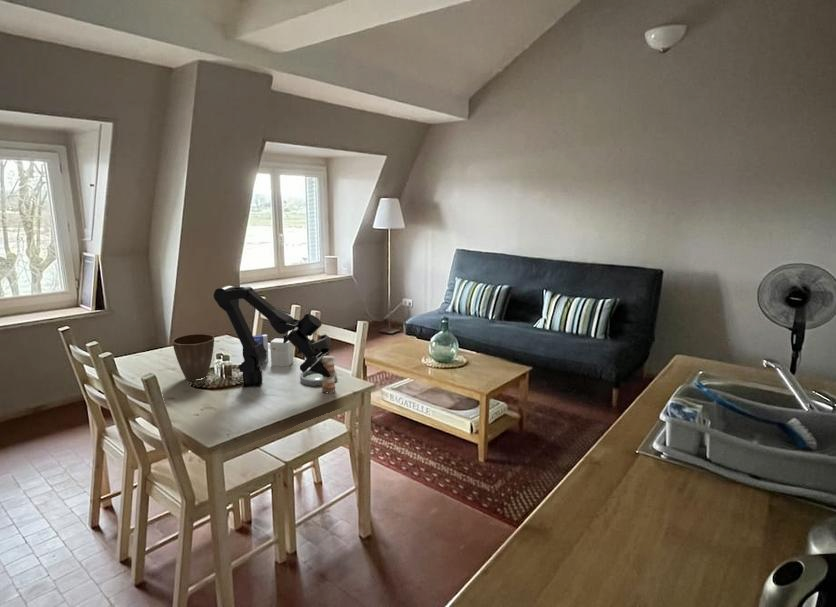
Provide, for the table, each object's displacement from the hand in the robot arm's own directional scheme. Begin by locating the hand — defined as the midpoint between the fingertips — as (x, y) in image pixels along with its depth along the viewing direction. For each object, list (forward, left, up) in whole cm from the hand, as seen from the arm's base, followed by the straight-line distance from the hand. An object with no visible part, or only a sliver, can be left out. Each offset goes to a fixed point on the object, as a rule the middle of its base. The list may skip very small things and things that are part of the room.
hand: (331, 374), depth 181 cm
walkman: (-30, +38, -7) cm, 49 cm away
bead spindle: (-1, +1, -7) cm, 7 cm away
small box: (-20, +34, -7) cm, 40 cm away
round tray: (-5, +13, -7) cm, 15 cm away
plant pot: (-52, +22, -7) cm, 57 cm away
